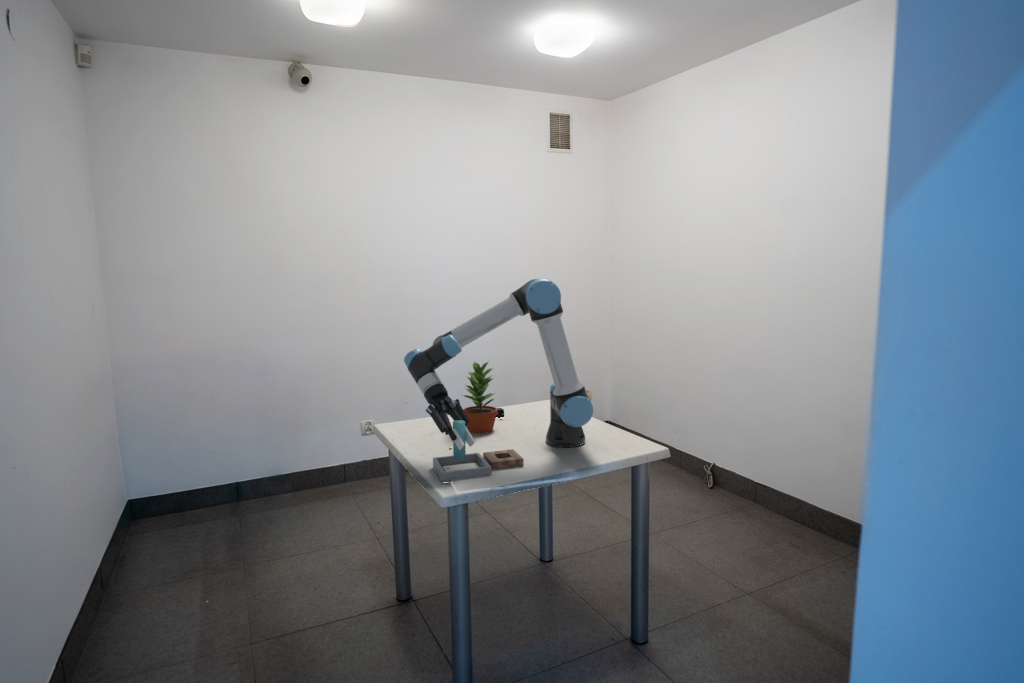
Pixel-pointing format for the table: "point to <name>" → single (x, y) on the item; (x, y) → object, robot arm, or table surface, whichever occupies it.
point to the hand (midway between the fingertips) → (467, 445)
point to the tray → (461, 474)
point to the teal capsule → (460, 428)
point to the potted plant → (480, 401)
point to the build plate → (500, 412)
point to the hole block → (503, 459)
